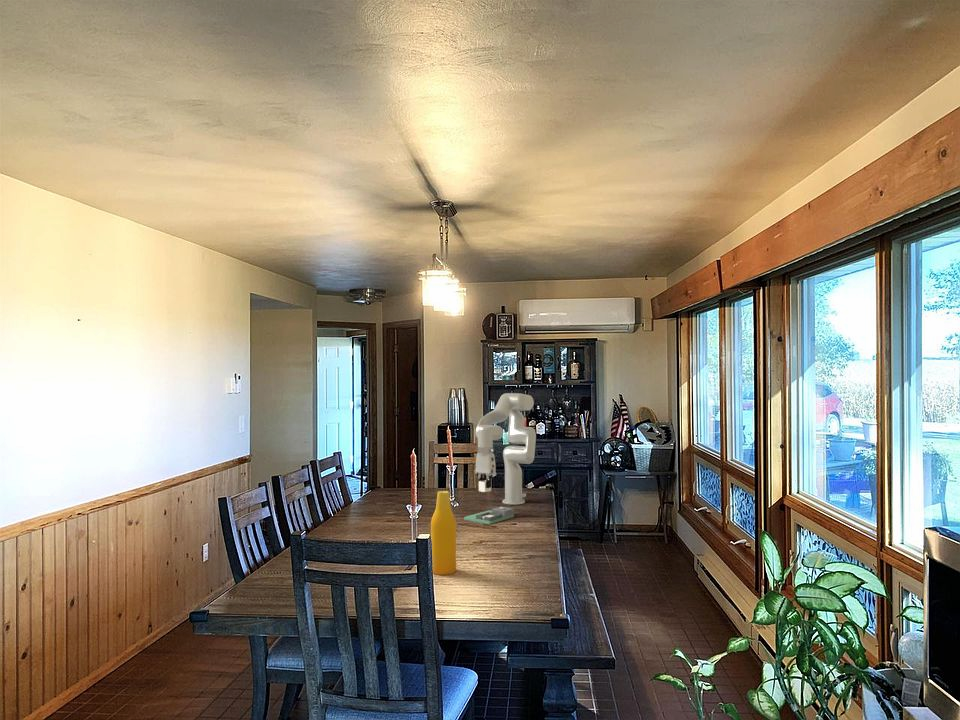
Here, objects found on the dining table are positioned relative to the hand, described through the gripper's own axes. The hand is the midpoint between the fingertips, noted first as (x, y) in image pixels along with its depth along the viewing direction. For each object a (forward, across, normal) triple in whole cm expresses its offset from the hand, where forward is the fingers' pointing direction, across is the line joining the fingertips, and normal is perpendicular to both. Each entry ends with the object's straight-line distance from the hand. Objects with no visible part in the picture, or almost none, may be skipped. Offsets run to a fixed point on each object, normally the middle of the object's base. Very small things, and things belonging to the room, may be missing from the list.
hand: (485, 486), depth 323 cm
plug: (+2, 0, 0) cm, 2 cm away
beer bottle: (+17, -45, +77) cm, 91 cm away
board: (+15, -4, +1) cm, 16 cm away
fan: (+14, -8, -5) cm, 16 cm away
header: (+14, -7, +5) cm, 16 cm away
